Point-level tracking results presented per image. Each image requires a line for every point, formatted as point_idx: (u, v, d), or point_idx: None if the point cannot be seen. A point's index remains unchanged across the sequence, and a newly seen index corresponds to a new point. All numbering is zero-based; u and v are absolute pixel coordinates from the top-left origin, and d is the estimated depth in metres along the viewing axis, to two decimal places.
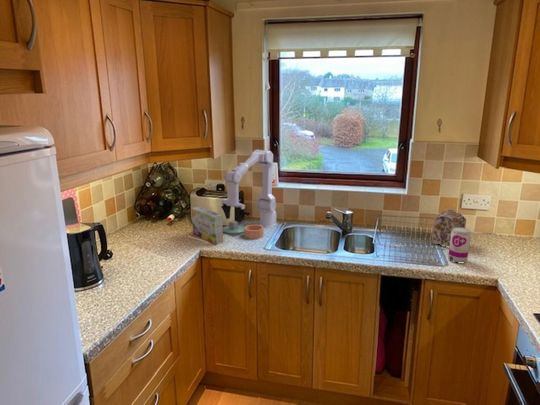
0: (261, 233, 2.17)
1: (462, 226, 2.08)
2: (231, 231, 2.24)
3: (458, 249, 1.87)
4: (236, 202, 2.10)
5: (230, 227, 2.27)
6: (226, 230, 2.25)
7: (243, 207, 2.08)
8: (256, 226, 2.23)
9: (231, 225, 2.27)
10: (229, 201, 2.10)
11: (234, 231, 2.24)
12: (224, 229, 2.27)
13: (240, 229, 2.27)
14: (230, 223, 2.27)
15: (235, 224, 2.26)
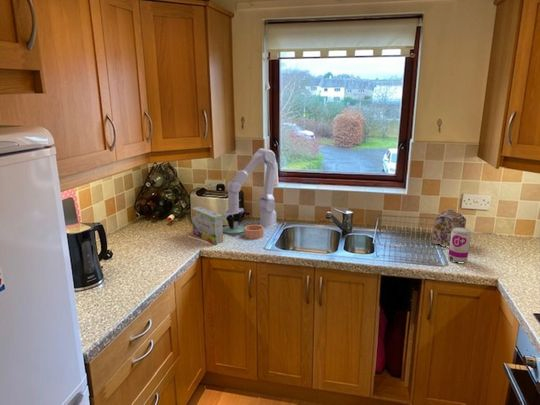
0: (261, 233, 2.17)
1: (462, 226, 2.08)
2: (231, 231, 2.24)
3: (458, 249, 1.87)
4: (229, 210, 2.24)
5: None
6: (226, 230, 2.25)
7: (224, 216, 2.21)
8: (256, 226, 2.23)
9: None
10: None
11: (234, 231, 2.24)
12: (224, 229, 2.27)
13: (240, 229, 2.27)
14: None
15: (235, 224, 2.26)
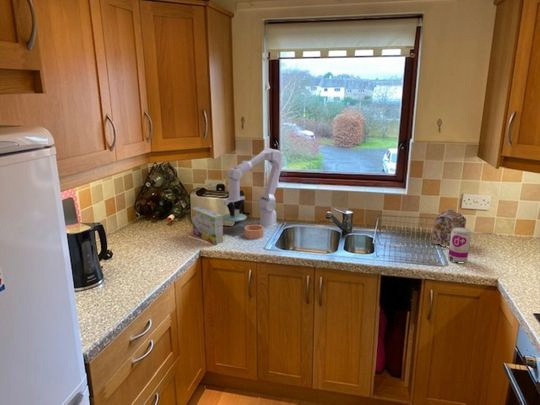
0: (261, 233, 2.17)
1: (462, 226, 2.08)
2: (232, 219, 2.22)
3: (458, 249, 1.87)
4: (230, 198, 2.22)
5: None
6: (227, 218, 2.23)
7: (224, 203, 2.18)
8: (256, 226, 2.23)
9: None
10: None
11: (235, 219, 2.22)
12: (225, 217, 2.25)
13: (241, 217, 2.25)
14: None
15: (236, 212, 2.24)
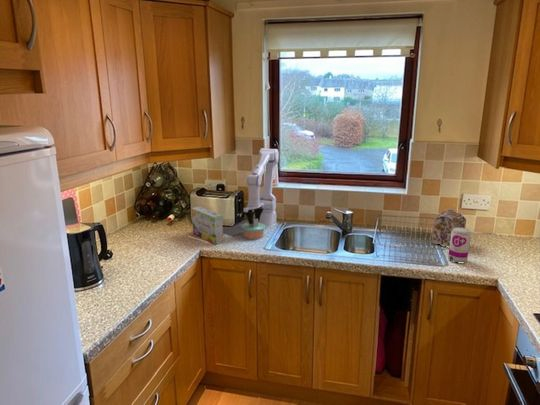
0: (261, 233, 2.17)
1: (462, 226, 2.08)
2: (251, 228, 2.14)
3: (458, 249, 1.87)
4: (250, 205, 2.14)
5: (250, 224, 2.18)
6: (246, 227, 2.16)
7: (244, 210, 2.11)
8: None
9: None
10: None
11: (254, 228, 2.14)
12: (243, 226, 2.18)
13: (260, 226, 2.18)
14: None
15: (255, 221, 2.17)
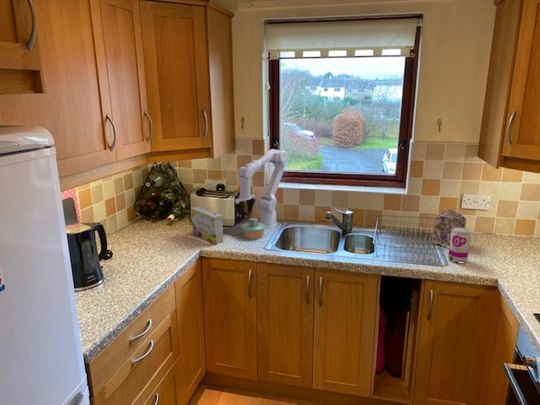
0: (261, 233, 2.17)
1: (462, 226, 2.08)
2: (251, 228, 2.14)
3: (458, 249, 1.87)
4: (241, 196, 2.21)
5: (250, 224, 2.18)
6: (246, 227, 2.16)
7: (236, 201, 2.17)
8: None
9: (251, 223, 2.17)
10: None
11: (254, 228, 2.14)
12: (243, 226, 2.18)
13: (260, 226, 2.18)
14: (250, 220, 2.17)
15: (255, 221, 2.17)
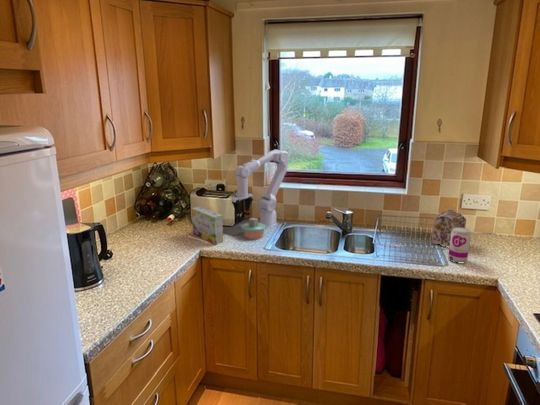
0: (261, 233, 2.17)
1: (462, 226, 2.08)
2: (251, 228, 2.14)
3: (458, 249, 1.87)
4: (238, 195, 2.23)
5: (250, 224, 2.18)
6: (246, 227, 2.16)
7: (233, 200, 2.20)
8: None
9: (251, 223, 2.17)
10: None
11: (254, 228, 2.14)
12: (243, 226, 2.18)
13: (260, 226, 2.18)
14: (250, 220, 2.17)
15: (255, 221, 2.17)
